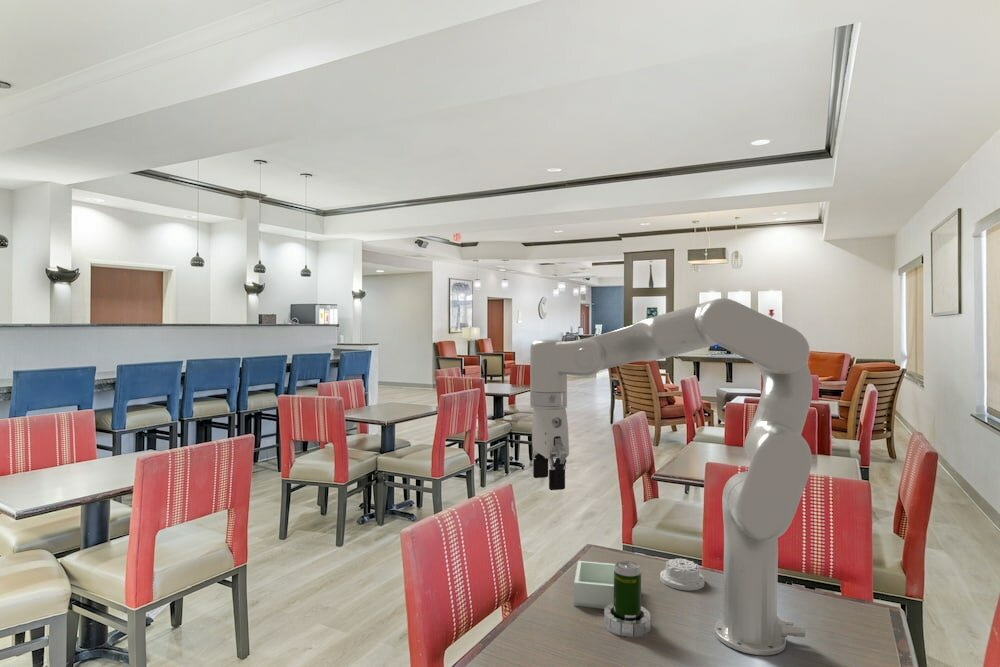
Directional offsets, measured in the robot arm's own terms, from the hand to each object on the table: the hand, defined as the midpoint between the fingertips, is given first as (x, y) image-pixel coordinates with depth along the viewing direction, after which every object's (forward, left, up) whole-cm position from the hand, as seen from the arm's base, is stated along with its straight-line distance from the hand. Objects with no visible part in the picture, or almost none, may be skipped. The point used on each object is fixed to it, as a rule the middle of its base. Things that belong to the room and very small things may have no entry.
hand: (548, 483), depth 120 cm
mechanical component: (-29, -24, -28) cm, 47 cm away
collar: (-16, 0, -28) cm, 32 cm away
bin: (-11, -12, -28) cm, 32 cm away
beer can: (-16, 0, -28) cm, 32 cm away
